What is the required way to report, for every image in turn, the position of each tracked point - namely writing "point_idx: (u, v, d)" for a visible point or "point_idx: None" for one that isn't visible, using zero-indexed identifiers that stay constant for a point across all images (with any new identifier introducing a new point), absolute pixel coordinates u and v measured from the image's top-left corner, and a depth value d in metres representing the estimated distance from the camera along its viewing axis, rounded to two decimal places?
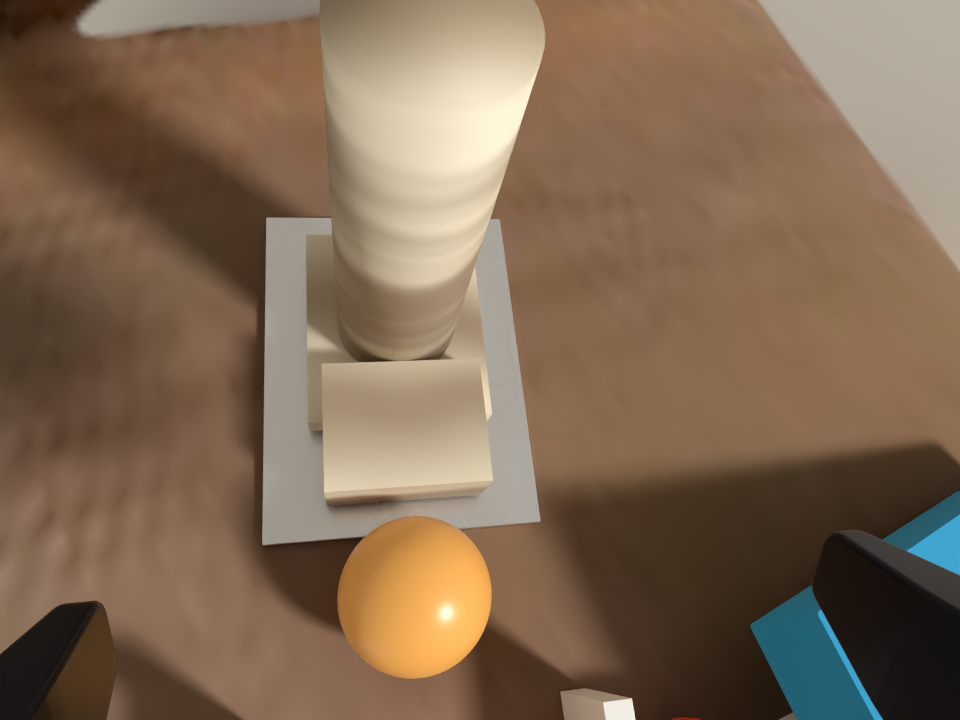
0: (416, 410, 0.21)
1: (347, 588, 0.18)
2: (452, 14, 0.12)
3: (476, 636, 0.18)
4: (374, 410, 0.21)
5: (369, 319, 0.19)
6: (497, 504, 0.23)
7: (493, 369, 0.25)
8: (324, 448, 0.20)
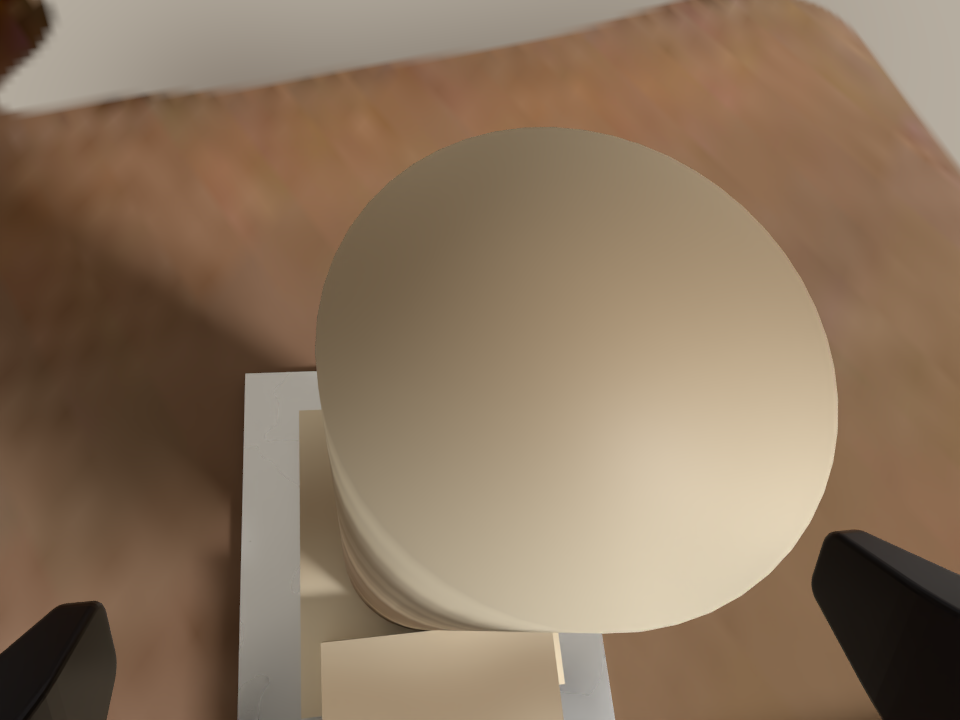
0: (461, 713, 0.14)
1: None
2: (626, 325, 0.05)
3: None
4: (399, 718, 0.14)
5: (395, 618, 0.12)
6: None
7: None
8: None
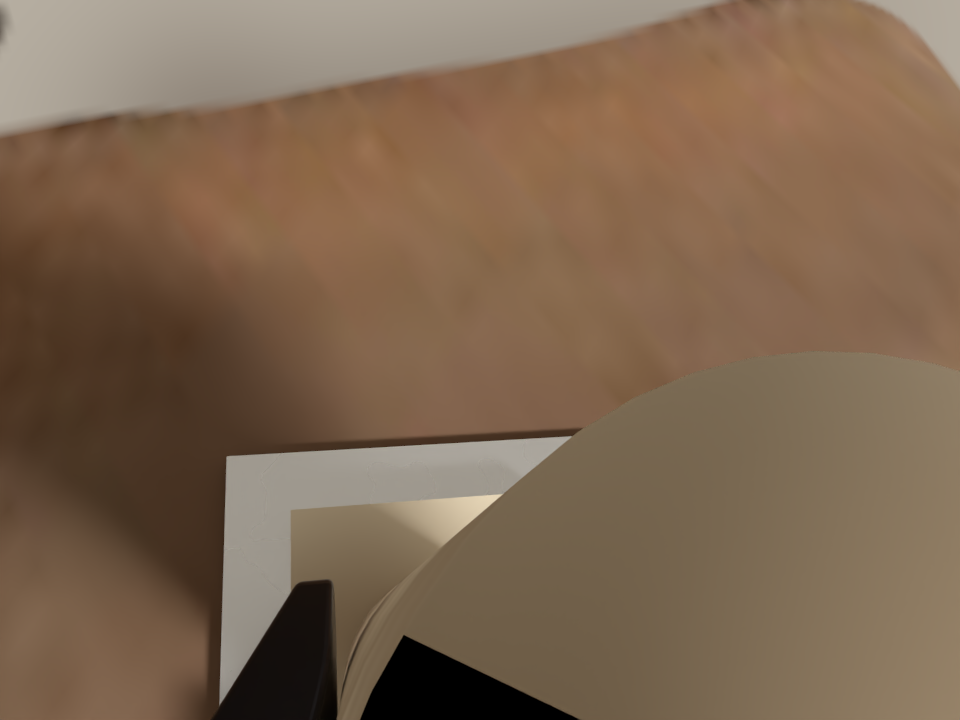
0: None
1: None
2: None
3: None
4: None
5: None
6: None
7: None
8: None
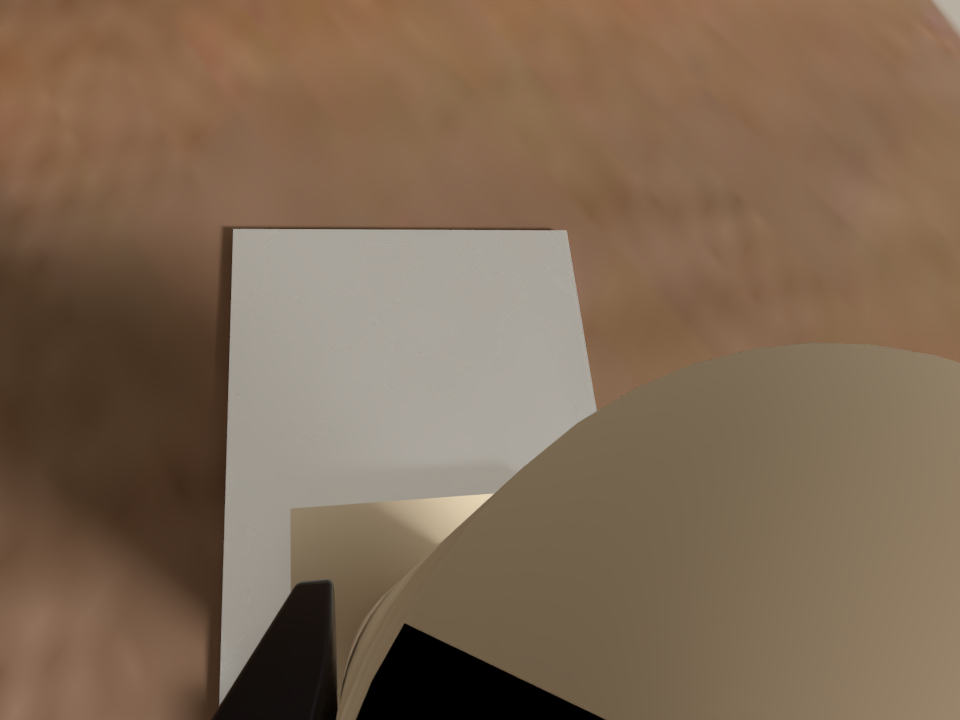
0: None
1: None
2: None
3: None
4: None
5: None
6: None
7: None
8: None
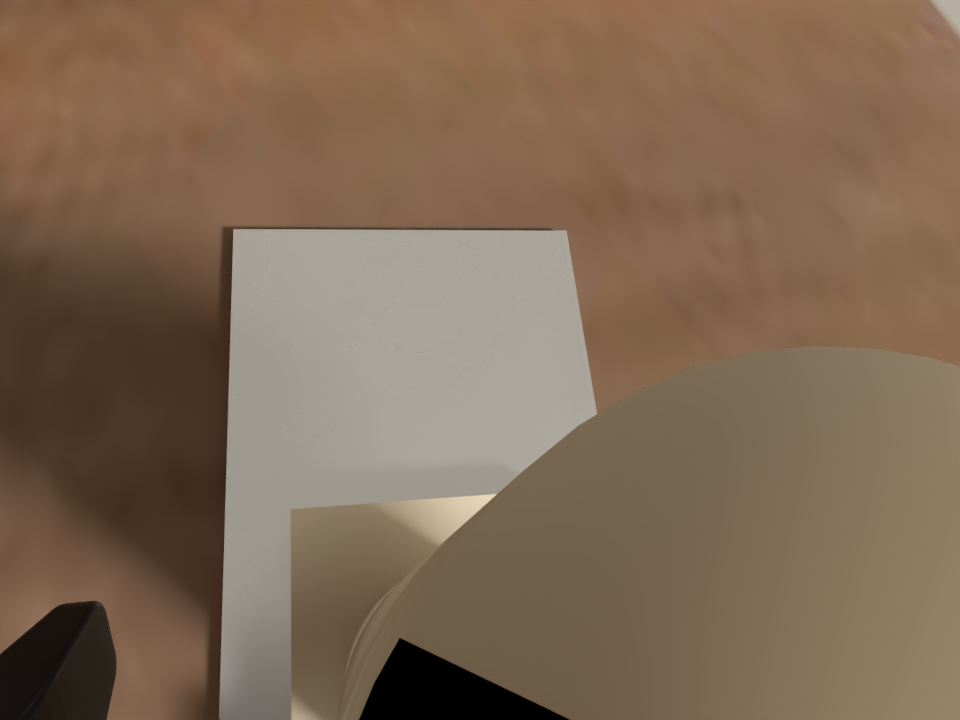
0: None
1: None
2: None
3: None
4: None
5: None
6: None
7: None
8: None
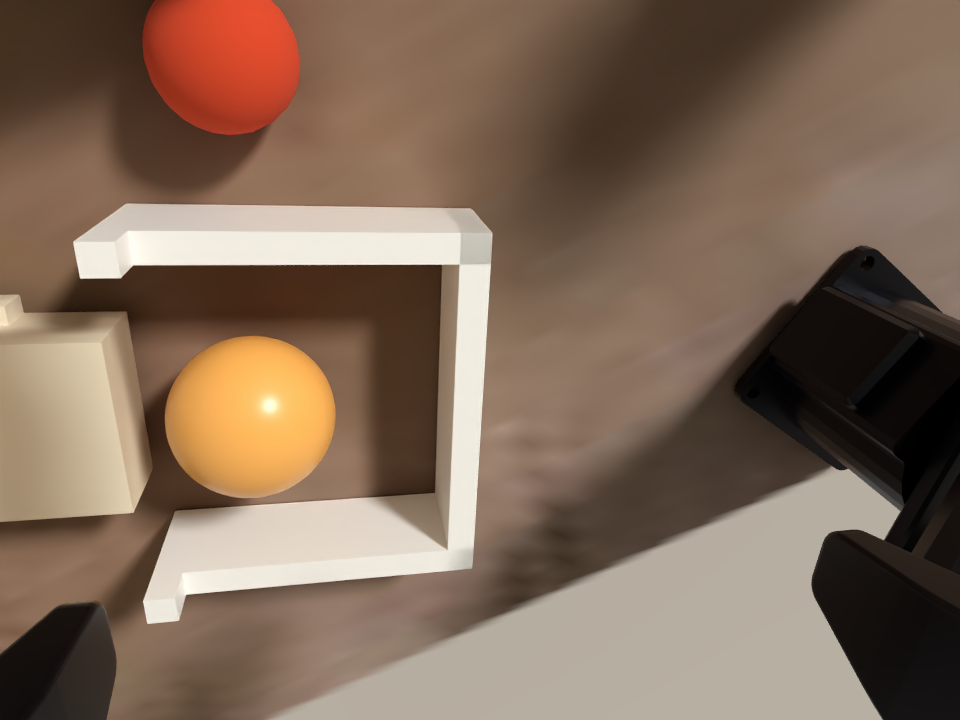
0: (13, 425, 0.17)
1: None
2: None
3: None
4: (22, 469, 0.17)
5: None
6: None
7: None
8: (80, 515, 0.18)
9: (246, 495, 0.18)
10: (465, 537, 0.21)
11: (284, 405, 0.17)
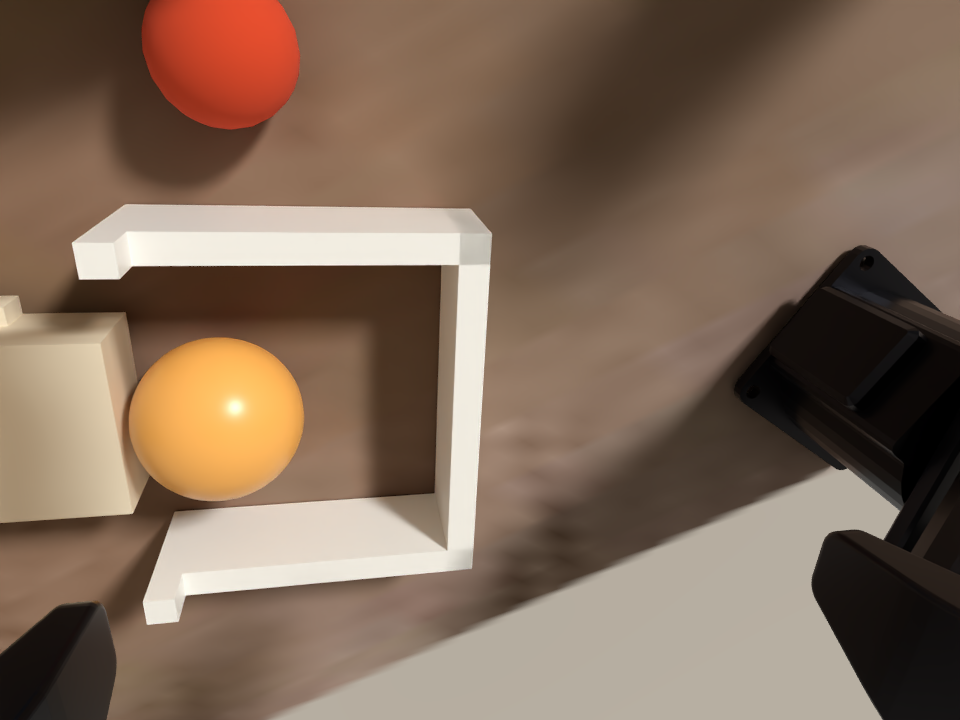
0: (12, 426, 0.17)
1: None
2: None
3: None
4: (21, 470, 0.17)
5: None
6: None
7: None
8: (80, 516, 0.18)
9: (186, 496, 0.17)
10: (465, 537, 0.21)
11: (217, 413, 0.16)
